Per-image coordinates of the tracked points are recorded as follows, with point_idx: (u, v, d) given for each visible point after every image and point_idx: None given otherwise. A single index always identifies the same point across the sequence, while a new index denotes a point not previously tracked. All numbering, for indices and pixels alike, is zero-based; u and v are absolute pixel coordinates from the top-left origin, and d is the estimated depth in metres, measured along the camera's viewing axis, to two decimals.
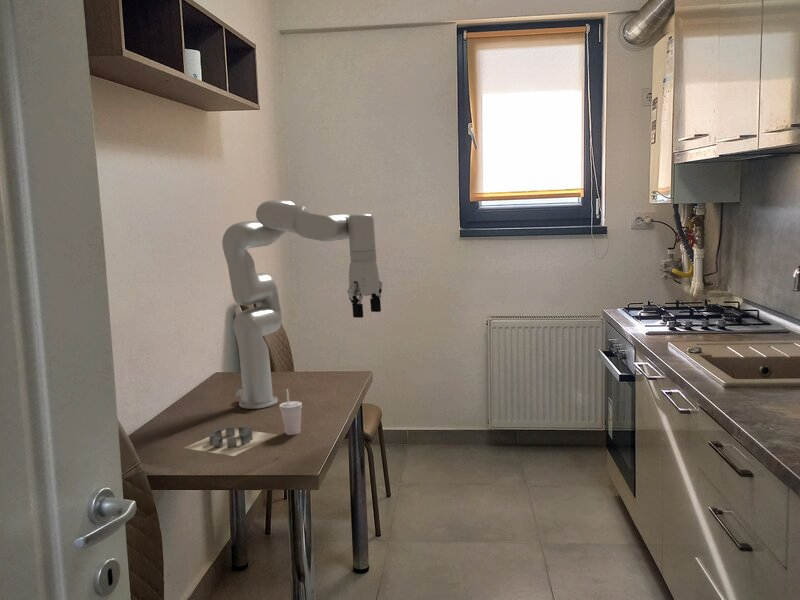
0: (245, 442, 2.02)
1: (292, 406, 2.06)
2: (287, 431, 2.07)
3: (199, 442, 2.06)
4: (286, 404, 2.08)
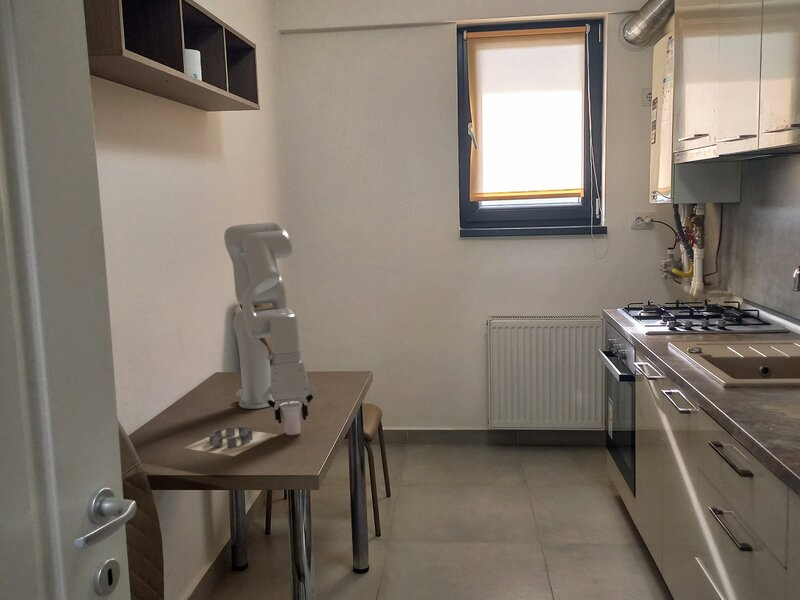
0: (245, 442, 2.02)
1: (292, 406, 2.06)
2: (287, 431, 2.07)
3: (199, 442, 2.06)
4: (286, 404, 2.08)
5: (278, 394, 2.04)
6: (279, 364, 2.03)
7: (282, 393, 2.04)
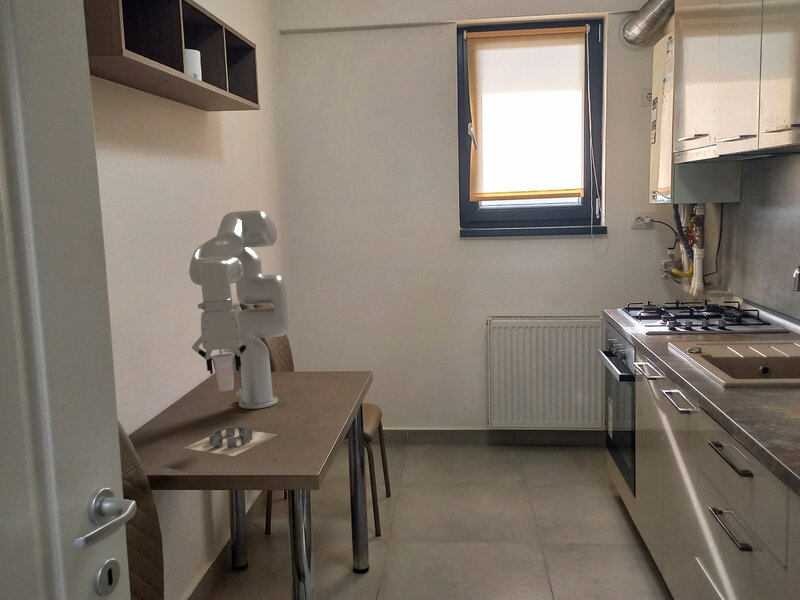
0: (245, 442, 2.02)
1: (224, 356, 2.00)
2: (219, 382, 2.01)
3: (199, 442, 2.06)
4: (218, 354, 2.01)
5: (209, 343, 1.98)
6: (209, 312, 1.96)
7: (213, 342, 1.98)
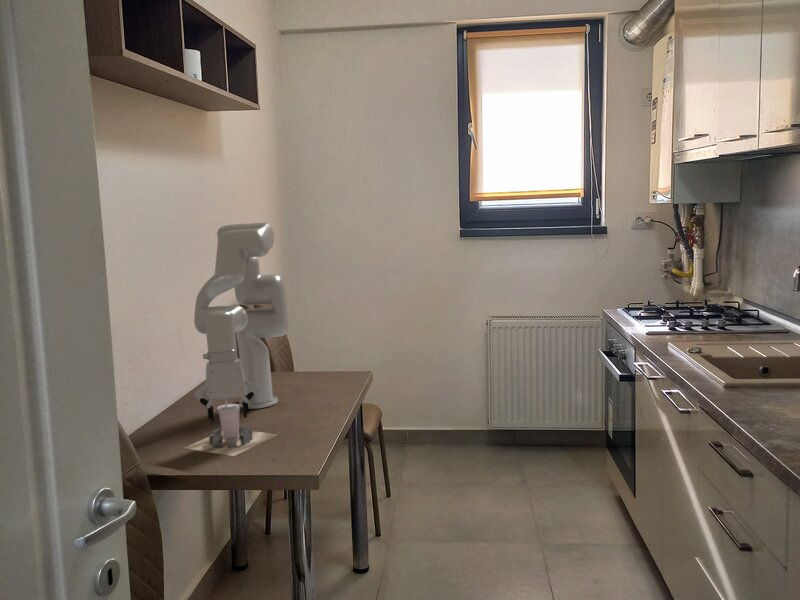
0: (245, 442, 2.02)
1: (229, 409, 2.02)
2: (224, 434, 2.03)
3: (199, 442, 2.06)
4: (224, 407, 2.03)
5: (213, 393, 1.99)
6: (214, 363, 1.98)
7: (218, 392, 2.00)
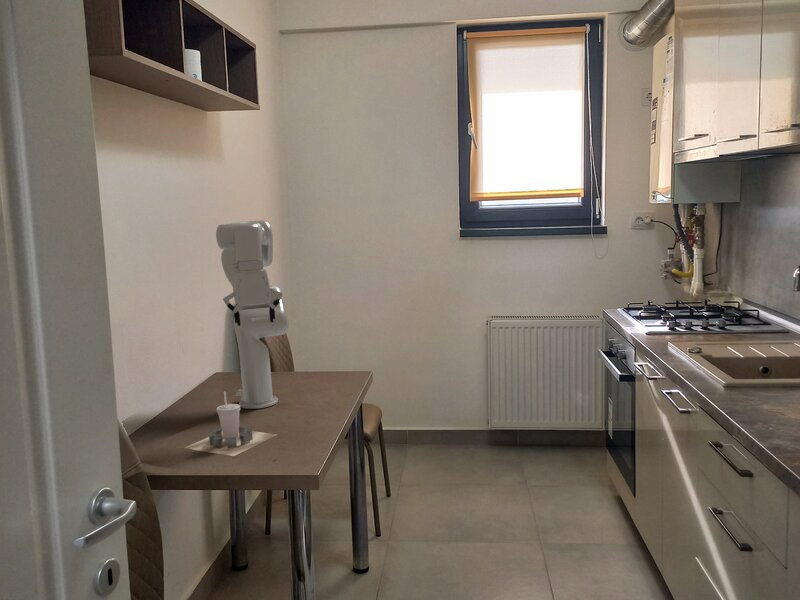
0: (245, 442, 2.02)
1: (229, 409, 2.02)
2: (224, 434, 2.03)
3: (199, 442, 2.06)
4: (223, 407, 2.03)
5: (242, 299, 2.17)
6: (242, 271, 2.16)
7: (246, 299, 2.17)
